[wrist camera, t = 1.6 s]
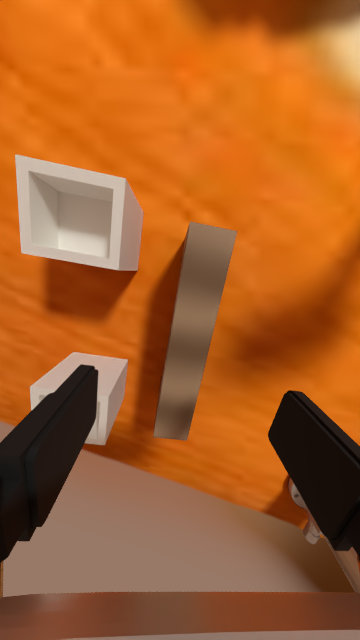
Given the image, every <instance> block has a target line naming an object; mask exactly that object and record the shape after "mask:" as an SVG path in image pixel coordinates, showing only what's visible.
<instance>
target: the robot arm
mask: <svg viewBox="0 0 360 640" xmlns="http://www.w3.org/2000/svg"><path fill="white" fill-rule="evenodd" d="M97 391H98V370H97V369H95V367H94V366H91V365H83V364H81V365H79V366H78V367H77V368H76V369H75V371H74V372H73V373H72V374H71V375H70V376H69V377H68V378H67V379H66V380H65V381H64V382H63V383H62V384H61V385H60V386H59V387H58V389H57V390H56V391H55V392H54V393H50V394H48V395H47V396H46V397H45V398H44V399H43V400H42V401H41V402H40V403H39V404H38V405H37V406H36V407H35V408H34V409H33V410H32V411H31V412H30V413H29V414H28V415H27V416H26V417H25V418H24V419H23V420H22V421H21V422H20V423H19V424H18V425H17V426H16V427H15V428H14V429H13V430H12V431H11V432H10V433H9V434H8V435H7V437H5V438H4V440H3V441H2V442H1V443H0V640H360V446H359V445H358V444H357V443H356V442H355V441H353V440H352V439H351V438H350V437H349V436H348V435H347V434H346V433H345V432H344V431H343V430H342V429H341V428H340V427H339V426H338V425H337V424H336V423H334V422H333V421H332V420H331V419H330V418H329V417H328V416H327V415H326V414H325V413H324V412H323V411H322V410H321V409H320V408H319V407H318V406H317V405H316V404H314V403H313V402H312V401H311V400H310V399H309V398H308V397H307V396H306V395H305V394H304V393H302V392H299V391H291V390H290V391H288V392H287V393H285V394H284V396H283V398H282V401H281V403H280V406H279V408H278V411H277V413H276V415H275V418H274V420H273V423H272V425H271V427H270V430H269V433H268V437H269V440H270V442H271V444H272V446H273V448H274V449H275V451H276V453H277V455H278V456H279V458H280V460H281V462H282V463H283V465H284V467H285V469H286V471H287V472H288V474H289V476H290V480H289V484H288V489H289V493H290V495H291V497H292V499H293V500H294V502H295V503H296V504H297V505H298V506H300V507H302V508H304V509H305V510H306V512H307V513H308V522H307V523H306V525H305V527H304V529H303V534H304V536H305V538H306V539H307V540H308V541H309V542H310V543H311V544H315V543H316V542H317V540H318V539H319V537H320V535H324V537H325V539H326V541H327V542H328V544H329V546H330V548H331V550H332V551H333V553H334V555H335V557H336V558H337V560H338V562H339V564H340V565H341V567H342V569H343V570H344V573H345V574H346V576H347V578H348V580H349V581H350V583H351V585H352V587H353V589H354V590H355V592H356V593H315V592H314V593H311V592H95V593H62V594H30V595H21V596H11V597H3V560H5V559H6V558H7V557H8V556H9V554H10V552H11V551H12V549H13V547H14V545H15V544H16V542H17V541H30V539H31V537H32V535H33V533H34V531H35V529H36V527H41V526H42V525H43V524H44V522H45V521H46V519H47V517H48V515H49V513H50V511H51V509H52V507H53V505H54V503H55V501H56V499H57V497H58V495H59V493H60V491H61V489H62V487H63V485H64V483H65V481H66V479H67V477H68V475H69V473H70V471H71V469H72V467H73V465H74V463H75V461H76V459H77V457H78V455H79V453H80V451H81V449H82V447H83V445H84V443H85V441H86V439H87V437H88V435H89V433H90V431H91V429H92V427H93V425H94V422H95V419H96V411H97Z"/></svg>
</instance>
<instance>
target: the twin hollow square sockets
mask: <svg viewBox="0 0 360 640" xmlns="http://www.w3.org/2000/svg"><path fill="white" fill-rule="evenodd" d="M15 160H16V175H17V191H18V207H19V223H20V239H21V253H24V254H30V255H35V256H41V257H46V258H52V259H58V260H63V261H69V262H74V263H80V264H86V265H91V266H97V267H102V268H108V269H114V270H125V271H138V261H139V252H140V243H141V233H142V224H143V214H144V212H143V210H142V209H141V207H140V205H139V203H138V201H137V199H136V197H135V195H134V193H133V192H132V190H131V188H130V186H129V184H128V182H127V180H126V178H121V177H116V176H112V175H107V174H103V173H98V172H94V171H89V170H85V169H80V168H75V167H71V166H66V165H62V164H57V163H53V162H48V161H43V160H39V159H34V158H30V157H25V156H21V155H16V154H15ZM81 364H83V365H91V366H94V367H95V369H97V370H98V391H97V411H96V419H95V422H94V425H93V427H92V429H91V431H90V433H89V435H88V437H87V439H86V441H85V443H87V444H97V445H105V443H106V441H107V439H108V436H109V434H110V431H111V429H112V426H113V424H114V421H115V419H116V416H117V414H118V411H119V409H120V406H121V404H122V401H123V399H124V393H125V383H126V374H127V365H128V360H127V359H120V358H112V357H105V356H98V355H91V354H84V353H77V352H73V353H72V354H70V355H69V356H68V357H67V358H65V359H64V360H63V361H62V362H60V363H59V364H58V365H57V366H55V367H54V368H53V369H52V370H50V371H49V372H48V373H47V374H45V375H44V376H43V377H42V378H40V379H39V380H38V381H37V382H35V383H34V384H33V385H32V386H30V396H31V411H32V410H33V409H34V408H35V407H36V406H37V405H38V404H39V403H40V402H41V401H42V400H43V399H44V398H45V397H46V396H47V395H48V394H50V393H54V392H55V391H56V390H57V389H58V387H59V386H60V385H61V384H62V383H63V382H64V381H65V380H66V379H67V378H68V377H69V376H70V375H71V374H72V373H73V372H74V371H75V369H76V368H77V367H78V366H79V365H81Z"/></svg>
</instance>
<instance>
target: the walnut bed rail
mask: <svg viewBox="0 0 360 640" xmlns="http://www.w3.org/2000/svg"><path fill="white" fill-rule="evenodd" d="M236 234H237V231H233V230H228V229H224V228H219V227H214V226H209V225H204V224H199V223H194V222H190V224H189V227H188V230H187V234H186V237H185V241H184V247H183V253H182V258H181V269H180V275H179V281H178V287H177V293H176V299H175V304H174V310H173V316H172V322H171V328H170V334H169V340H168V346H167V352H166V358H165V363H164V369H163V375H162V377H161V383H160V389H159V396H158V404H157V412H156V419H155V427H154V435H153V437H158V438H167V439H177V440H186V441H187V438H188V434H189V430H190V426H191V421H192V417H193V413H194V409H195V405H196V401H197V396H198V392H199V388H200V384H201V380H202V376H203V371H204V367H205V363H206V359H207V355H208V350H209V346H210V342H211V338H212V334H213V330H214V325H215V321H216V317H217V313H218V309H219V305H220V300H221V296H222V292H223V288H224V284H225V280H226V275H227V271H228V267H229V263H230V259H231V255H232V250H233V246H234V242H235V238H236Z"/></svg>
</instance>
